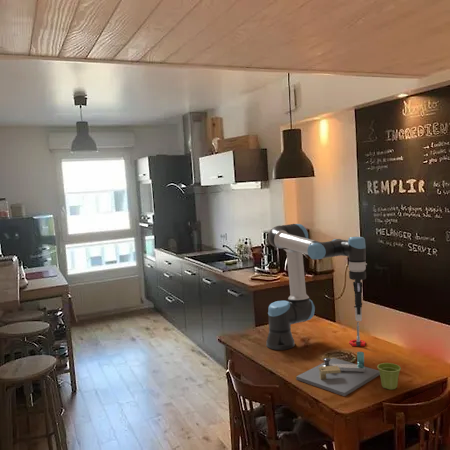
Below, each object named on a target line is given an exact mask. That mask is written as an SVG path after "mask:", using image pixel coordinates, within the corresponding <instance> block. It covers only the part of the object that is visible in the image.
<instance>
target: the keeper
mask: <svg viewBox="0 0 450 450" xmlns="http://www.w3.org/2000/svg"><path fill="white" fill-rule="evenodd" d="M318 369H319V377H320V379H321V380H323V379H326V374H329V373H341V370H340V369H339V367H338V366H325V367H318Z"/></svg>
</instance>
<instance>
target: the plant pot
mask: <svg viewBox="0 0 450 450" xmlns="http://www.w3.org/2000/svg"><path fill="white" fill-rule="evenodd" d="M376 368H377V370H378V371H379V372H380V375H379V376H380V377H379V378H380V382H381V387H382V388H383V389H387V390H396V389H397V388H398V383H399V375H400V371H401V369H402V368H401V366H400V365H398V364H396V363H393V362H383V363H379V364H377V366H376Z"/></svg>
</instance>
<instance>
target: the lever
mask: <svg viewBox="0 0 450 450" xmlns="http://www.w3.org/2000/svg"><path fill="white" fill-rule="evenodd" d="M330 359H331V358H329V357H323V362H322V363H320V364H321V367H325V366H338V367H339V369H340V370H341V371H358V372H365V368H364V367H365V352H363V351H357V352H356V360H357V362H356V364H357V365H354V364H355V363H354V364H330V363H329V361H330ZM324 362H325V363H324Z"/></svg>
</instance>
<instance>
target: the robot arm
mask: <svg viewBox="0 0 450 450" xmlns="http://www.w3.org/2000/svg"><path fill="white" fill-rule="evenodd" d="M267 239H268V241H269V242H268V243H269V244H270V245H271V246H272V247H274V248H278V249H283V251H285V252H286V260H287V262H286V263H287V272H288V282H289V294H290V295H289V296H288V298H287V299H288V300H277V301H274V302H271V303H270V304H269V305H268V312H267V314H268V315H267V316H268V335H267V339H266V341H265V342H266V347H267V348H269V349H271V350H276V351H283V350H284V351H286V350H290V349H293V348H294V347H295V345H296V344H295V340H294V337H293V334H292V330H291V328H292V326H291V325H294V324H297V323H298V324H299V323H304V322H307V321H310V320H312V318H313V317H314V316H315V310H316V307H315V303H314V302H313V300H311V299H310V296H309V295H308V294H307V289H306V288H307V287H306V280H305V277H306V276H305V265H304V256H303V255H304V254H305V255H308V257H310V259H311V260H322V259H323V260H324V259H328V258H333V257H341V256H345V257H348V270H349V271H348V277H349V279H350V280H352V281H353V282H352V285H353V291H354V306H353V307H354V309H355V310H354V315H355V318H354V319H355V321H356V322H362V321H363V317H362V316H363V314H362V307H363V303H362V296H363V295H362V293H363V282H362V281H363V280H366V279H367V271H366V269H367V268H366V267H367V265H368V263H366V256H367V255H366V250H367V249H366V247H367V246H366V239H365V238H364V237H362V236H350V237H348V239H347V240H346V239H341V238H334V239H332V240H330V241H329V240H328V241H318V240H314V239H311V238H309V232H308V230H307V229H306V227H305V226H304V225H303V224H301V223H292V224H283V225H276V226H274V227H272V228H271V229H270V231H269V232H268V235H267Z"/></svg>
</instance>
